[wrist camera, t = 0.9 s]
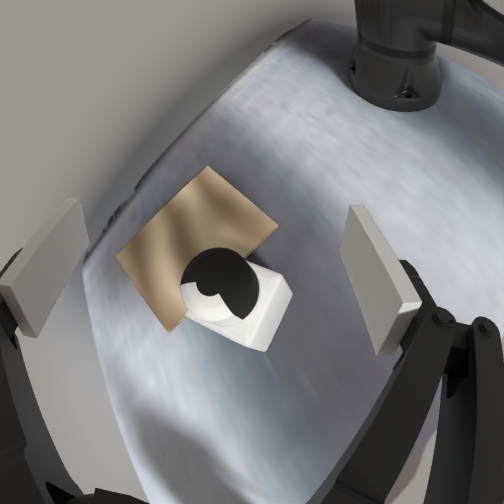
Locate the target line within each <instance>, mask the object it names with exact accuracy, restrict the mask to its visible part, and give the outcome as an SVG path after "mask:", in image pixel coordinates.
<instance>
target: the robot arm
mask: <svg viewBox="0 0 504 504" xmlns="http://www.w3.org/2000/svg"><path fill="white" fill-rule="evenodd" d="M354 1H355V10H356V19H357V30H358V39H357V42H356V45H355V48H354V51H353V54H352V56H351V59H350V62H349V79H350V83H351V85H352V87H353V89H354V90H355V91H356V92H357V93H358V94H359V95H360V96H361V97H362V98H364V99H365V100H367V101H369V102H370V103H372V104H374V105H377V106H379V107H382V108H385V109H389V110H394V111H401V112H413V111H420V110H424V109H426V108H429V107H430V106H432V105H433V104H434V103H436V101H437V100H438V98H439V96H440V91H441V86H442V78H441V73H440V68H439V63H438V59H437V55H436V45H437V42H439V43H442V44H445V45H449V46H452V47H455V48H457V49H461V50H463V51H466V52H469V53H471V54H474V55H477V56H479V57H482V58H484V59H487V60H489V61H491V62H494V63H496V64H498V65H500V66H503V67H504V0H354ZM89 244H90V241H89V237H88V233H87V229H86V225H85V220H84V216H83V211H82V207H81V201H80V197H71V198H70V197H69V198H66V199H65V201H64V202H63V203H62V204H61V205H60V206H59V207H58V208H57V209H56V210H55V211H54V213H53V214H52V215H51V216H50V217H49V218H48V220H46V222H45V223H44V224H43V225H42V226H41V227H40V229H39V230H38V231H37V232H36V233H35V234H34V236H33V237H32V238H31V239H30V241H29V242H28V243H27V244H26V245H25V247H24V248H21V249H20V250H19V251H18V252H16V253H15V254H14V255H13V256H12V258H11V259H10V260H9V261H8V263H7V264H6V265H5V267H4V269H3V270H2V271H1V272H0V504H149V503H146V502H144V501H142V500H139V499H137V498H135V497H132V496H130V495H125V494H120V493H116V492H111V491H107V490H103V489H99V488H95V493H94V494H86V495H84V494H83V492H82V491H81V489H80V488H79V487H78V485H77V484H76V483H75V482H74V481H73V480H72V479H71V477H70V476H69V474H68V472H67V470H66V468H65V467H64V464H63V462H62V461H61V458H60V456H59V454H58V452H57V450H56V447H55V446H54V443H53V441H52V439H51V436H50V434H49V432H48V429H47V427H46V424H45V422H44V419H43V417H42V414H41V411H40V409H39V406H38V404H37V401H36V398H35V395H34V392H33V389H32V386H31V383H30V380H29V377H28V373H27V370H26V367H25V363H24V360H23V356H22V353H21V349H20V345H19V341H18V338H17V336H16V334H15V330H16V328H17V326H18V327H19V328H20V330H21V332H22V334H23V335H24V336H29V337H33V338H38V336H39V334H40V332H41V330H42V328H43V326H44V324H45V322H46V320H47V318H48V316H49V314H50V312H51V310H52V308H53V307H54V304H55V303H56V301H57V299H58V297H59V295H60V294H61V292H62V290H63V288H64V286H65V285H66V283H67V281H68V279H69V278H70V276H71V274H72V272H73V271H74V269H75V267H76V266H77V264H78V262H79V260H80V259H81V257H82V256H83V254H84V252H85V251H86V249H87V248H88V246H89ZM339 254H340V256H341V259H342V261H343V264H344V266H345V269H346V271H347V274H348V277H349V279H350V282H351V285H352V287H353V290H354V293H355V295H356V298H357V301H358V303H359V306H360V309H361V312H362V315H363V317H364V320H365V323H366V326H367V329H368V332H369V335H370V338H371V341H372V344H373V347H374V350H375V353H376V356H378V355H389V354H394V353H395V351H396V350H397V348H398V346H399V344H400V345H401V348H402V351H403V353H402V355H401V356H400V358H399V360H398V361H397V363H396V364H395V366H394V367H393V369H394V370H393V372H392V374H391V376H390V378H389V379H388V381H387V383H386V385H385V387H384V389H383V391H382V392H381V394H380V396H379V398H378V399H377V401H376V403H375V405H374V406H373V408H372V410H371V412H370V413H369V415H368V417H367V418H366V420H365V422H364V423H363V425H362V426H361V428H360V430H359V431H358V433H357V434H356V436H355V437H354V439H353V441H352V442H351V444H350V445H349V447H348V448H347V450H346V451H345V453H344V454H343V456H342V457H341V458H340V460H339V461H338V463H337V464H336V466H335V467H334V468H333V470H332V471H331V473H330V474H329V475H328V477H327V478H326V479H325V481H324V482H323V483H322V485H321V486H320V487H319V489H318V490H317V491H316V493H315V494H314V495H313V496H312V497H311V499H310V500H309V501H308V502H307V503H306V504H384V502H385V499H386V497H387V495H388V494H389V492H390V490H391V488H392V487H393V485H394V483H395V481H396V479H397V478H398V476H399V474H400V472H401V470H402V468H403V466H404V464H405V462H406V460H407V458H408V456H409V454H410V452H411V450H412V448H413V446H414V444H415V442H416V440H417V437H418V435H419V433H420V431H421V428H422V426H423V424H424V421H425V419H426V417H427V414H428V412H429V409H430V407H431V404H432V402H433V399H434V396H435V394H436V391H437V388H438V385H439V383H440V380H441V377H442V389H441V401H440V411H439V420H438V428H437V436H436V443H435V449H434V455H433V461H432V466H431V471H430V476H429V481H428V486H427V490H426V495H425V499H424V503H423V504H503V502H504V359H503V352H502V344H501V338H500V333H499V330H498V328H497V326H496V325H495V323H494V322H492V321H491V320H490V319H488V318H486V317H477V318H475V320H474V321H473V322H472V324H471V325H467V324H462V323H458V322H456V320H455V318H454V316H453V315H452V314H451V313H450V312H449V311H447V310H446V309H444V308H441V307H437V306H436V304H435V302H434V300H433V298H432V297H431V295H430V293H429V291H428V290H427V288H426V286H425V285H423V281H422V280H421V278H419V274H418V273H417V271H416V270H415V268H414V267H413V266H412V265H411V264H410V263H408V262H407V261H406V260H398V258H397V257H396V255H395V253H394V252H393V250H392V248H391V247H390V245H389V243H388V242H387V240H386V238H385V237H384V235H383V234H382V232H381V230H380V229H379V227H378V226H377V224H376V223H375V221H374V219H373V218H372V216H371V215H370V213H369V212H368V210H367V209H366V207H365V206H361V205H350V207H349V212H348V216H347V220H346V225H345V229H344V233H343V237H342V241H341V245H340V249H339Z"/></svg>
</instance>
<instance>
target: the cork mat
mask: <svg viewBox="0 0 504 504" xmlns="http://www.w3.org/2000/svg"><path fill="white" fill-rule="evenodd" d="M277 228H278V224H276V223H275V222H274V221H273V220H272V219H271V218H269V217H268V216H267V215H266V214H265V213H264V212H262V211H261V210H260V209H259V208H258V207H257V206H255V205H254V204H253V203H252V202H251V201H249V200H248V199H247V198H246V197H245V196H243V195H242V194H241V193H240V192H239V191H237V190H236V189H235V188H234V187H233V186H231V185H230V184H229V183H228V182H227V181H225V180H224V179H223V178H222V177H221V176H219V175H218V174H217V173H216V172H215V171H213V170H212V169H211V168H210V167H208V166H207V167H205V168H204V169H203V170H202V171H201V172H200V173H199V174H198V175H197V176H196V177H195V178H193V179H192V180H191V181H190V182H189V183H188V184H187V185H186V186H185V187H184V188H183V189H182V190H181V191H180V192H179V193H177V194H176V195H175V196H174V197H173V198H172V199H171V200H170V201H169V202H168V203H167V204H166V205H165V206H164V207H163V208H162V209H161V210H160V211H159V212H158V213H157V214H156V215H155V216H154V217H153V218H152V219H151V220H150V221H149V222H148V223H147V224H146V225H145V226H144V227H143V228H142V229H141V230H140V231H139V232H138V233H137V234H136V235H135V236H134V237H133V238H132V239H131V240H130V241H129V242H128V243H127V244H126V245H125V247H124V248H123V249H122V250H121V251H120V252H119V253H118V254H117V255H116V256H115V257H116V258H117V260H118V261H119V263H120V264H121V266H122V267H123V269H124V270H125V272H126V274H127V275H128V277H129V278H130V280H131V281H132V283H133V284H134V285H135V287H136V288H137V290H138V291H139V293H140V294H141V296H142V297H143V299H144V300H145V301H146V303H147V304H148V306H149V307H150V309H151V310H152V311H153V313H154V314H155V316H156V317H157V318H158V320H159V321H160V322H161V324H162V325H163V327H164V328H165V329H166V331H167V332H171V331H172V330H173V329H174V328H175V327H176V326H177V325H178V324H179V323H180V322H181V321H182V320H183V319H184V318H185V317H186V315H185V312H186V310H187V308H186V306H185V305H184V303H183V301H182V297H181V293H180V283H181V278H182V275H183V272H184V270H185V268H186V266H187V265H188V263H189V262H190V261H191V260H192V259H193V258H194V257H195V256H196V255H198V254H199V253H201V252H203V251H205V250H207V249H210V248H216V247H224V248H229V249H231V250H234V251H236V252H237V253H239V254H240V255H241V256H242V257H243V258H244V259H246V258H247V257H248V256H249V255H250V254H251V253H252V252H253V251H254V250H255V249H256V248H257V247H258V246H259V245H260V244H261V243H262V242H263V241H264V240H265V239H266V238H267V237H268V236H269V235H270V234H271V233H272V232H273V231H274V230H276V229H277Z"/></svg>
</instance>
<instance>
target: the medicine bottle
mask: <svg viewBox="0 0 504 504" xmlns="http://www.w3.org/2000/svg"><path fill="white" fill-rule="evenodd" d="M180 293H181V297H182V301H183V303H184V305H185V306H186V308H187V310H186V312H185V315H186V316H187V317H188V318H190V319H192V320H194V321H196V322H197V323H199V324H201V325H203V326H205V327H207V328H209V329H211V330H213V331H215V332H217V333H219V334H221V335H223V336H225V337H227V338H229V339H231V340H233V341H235V342H237V343H239V344H241V345H243V346H245V347H248V348H252V349H255V350H259V351H262V352H265V351H267V349H268V347H269V345H270V343H271V341H272V339H273V336H274V334H275V332H276V330H277V328H278V326H279V324H280V321H281V319H282V317H283V315H284V313H285V311H286V308H287V306H288V304H289V302H290V300H291V297H292V295H293V293H292V291H291V290H290V288H289V286H288V285H287V283H286V281H285V279H284V278H283V276H282V275H281V274H280V273H277V272H274V271H272V270H269V269H267V268H264V267H262V266H259V265H256V264H254V263H251V262H249V261H246V260H245V259H244V258H243V257H242V256H241V255H240V254H239V253H237V252H236V251H234V250H231V249H229V248H224V247H216V248H210V249H207V250H205V251H203V252H201V253H199V254H198V255H196V256H195V257H194V258H193V259H192V260H191V261H190V262H189V263H188V265H187V266H186V268H185V270H184V272H183V275H182V278H181V283H180Z"/></svg>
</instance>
